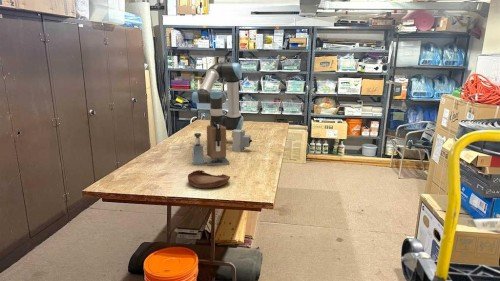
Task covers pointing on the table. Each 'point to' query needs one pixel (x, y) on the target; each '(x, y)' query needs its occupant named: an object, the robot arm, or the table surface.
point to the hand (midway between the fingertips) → (216, 148)
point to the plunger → (197, 138)
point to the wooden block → (212, 143)
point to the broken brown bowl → (206, 179)
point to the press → (209, 161)
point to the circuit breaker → (240, 140)
